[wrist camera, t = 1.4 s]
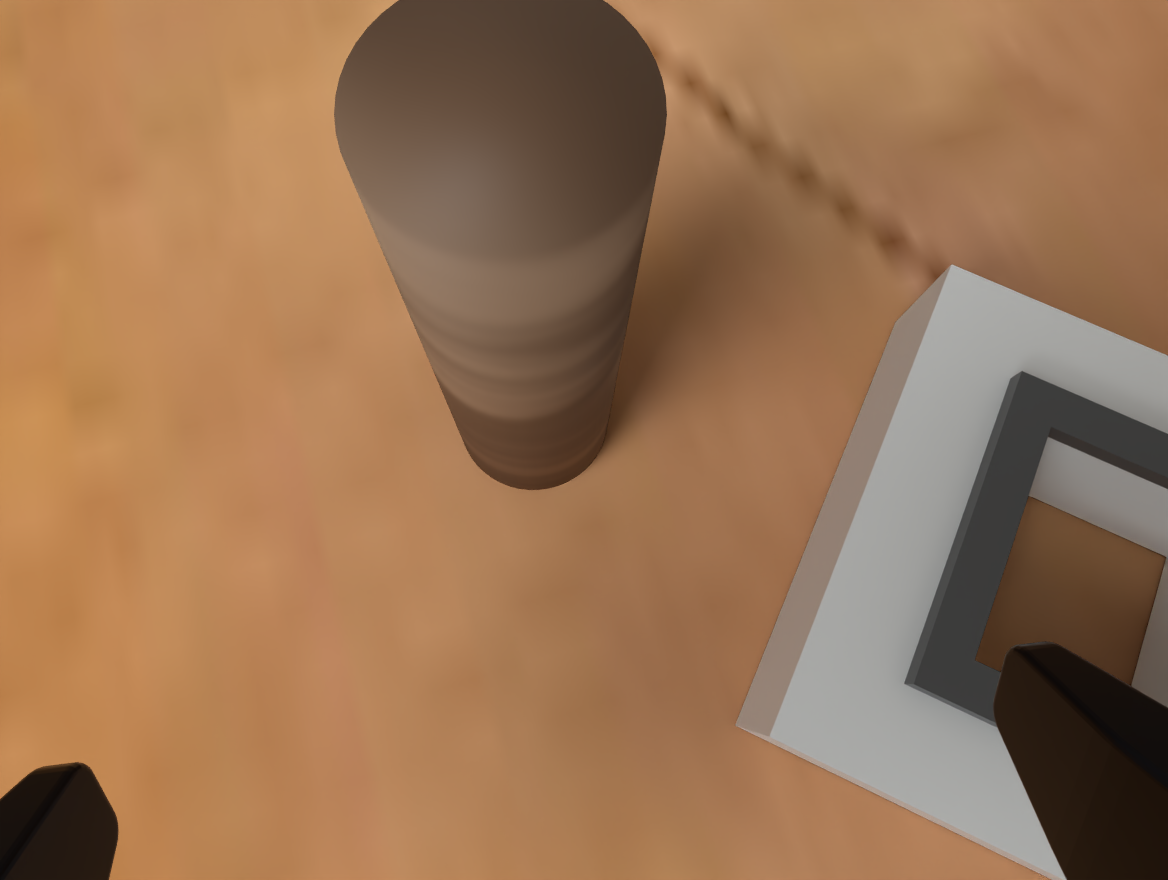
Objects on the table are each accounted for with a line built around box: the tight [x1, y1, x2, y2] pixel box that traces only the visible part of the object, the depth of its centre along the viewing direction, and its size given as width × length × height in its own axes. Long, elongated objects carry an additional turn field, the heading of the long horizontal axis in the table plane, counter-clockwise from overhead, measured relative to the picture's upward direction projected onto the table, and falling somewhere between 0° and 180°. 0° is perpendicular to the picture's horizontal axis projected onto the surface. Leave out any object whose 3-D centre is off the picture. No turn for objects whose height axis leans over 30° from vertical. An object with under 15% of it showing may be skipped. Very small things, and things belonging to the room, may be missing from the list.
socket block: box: [735, 264, 1168, 880], centre depth 20 cm, size 12×12×4 cm
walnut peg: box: [334, 0, 667, 490], centre depth 16 cm, size 4×4×13 cm
